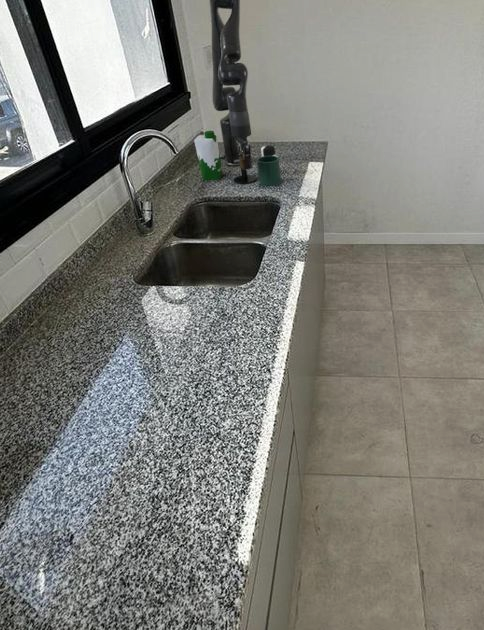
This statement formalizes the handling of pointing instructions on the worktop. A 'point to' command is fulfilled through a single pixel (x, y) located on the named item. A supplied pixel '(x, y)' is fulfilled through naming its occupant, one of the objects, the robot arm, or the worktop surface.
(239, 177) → the lid
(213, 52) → the robot arm
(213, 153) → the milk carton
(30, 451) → the worktop surface
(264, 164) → the tin
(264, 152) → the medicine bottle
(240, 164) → the block
